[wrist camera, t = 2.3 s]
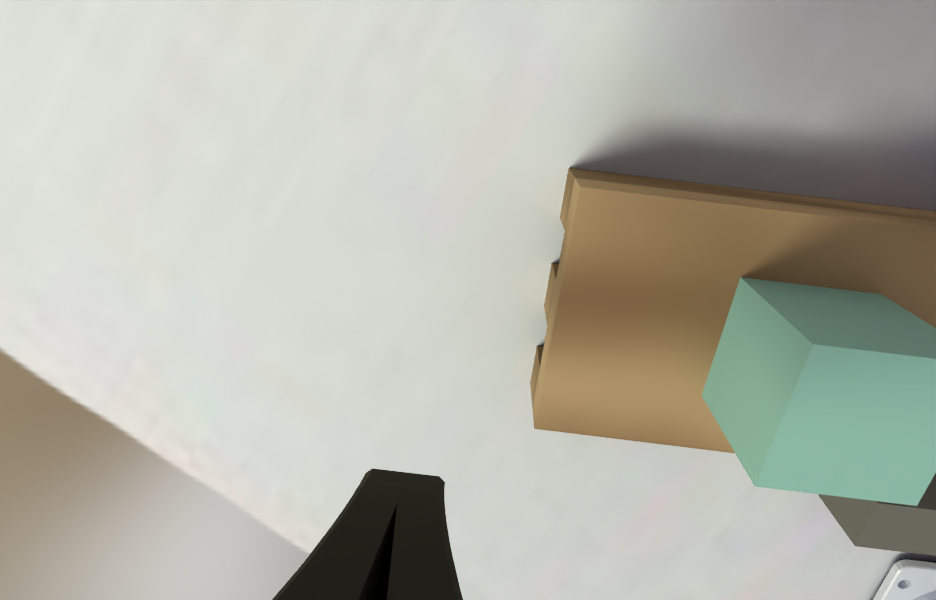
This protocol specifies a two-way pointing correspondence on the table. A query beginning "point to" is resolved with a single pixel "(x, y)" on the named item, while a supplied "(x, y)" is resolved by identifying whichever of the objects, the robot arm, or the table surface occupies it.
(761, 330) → the block
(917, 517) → the dock
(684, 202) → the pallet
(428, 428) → the table surface
